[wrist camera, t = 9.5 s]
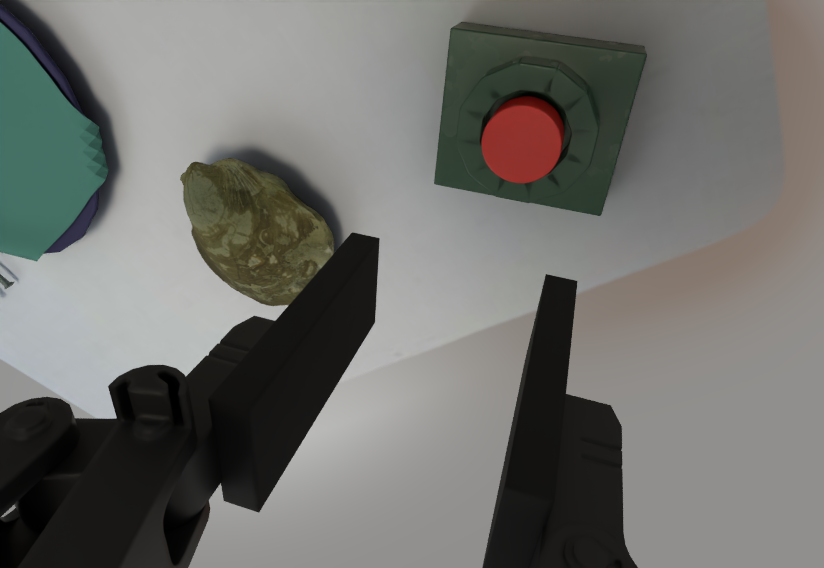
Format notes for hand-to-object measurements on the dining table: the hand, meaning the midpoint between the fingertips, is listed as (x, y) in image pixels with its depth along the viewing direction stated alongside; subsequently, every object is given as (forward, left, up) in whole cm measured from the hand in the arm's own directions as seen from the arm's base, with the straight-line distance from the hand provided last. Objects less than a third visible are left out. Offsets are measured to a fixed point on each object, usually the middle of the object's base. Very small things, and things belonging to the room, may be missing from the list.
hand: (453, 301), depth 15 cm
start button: (0, 0, -15) cm, 15 cm away
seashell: (+16, +10, -19) cm, 27 cm away
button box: (0, 0, -19) cm, 19 cm away
